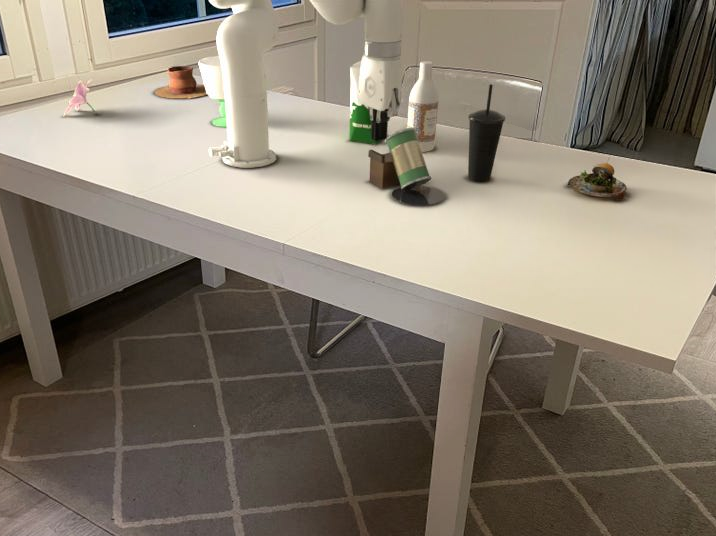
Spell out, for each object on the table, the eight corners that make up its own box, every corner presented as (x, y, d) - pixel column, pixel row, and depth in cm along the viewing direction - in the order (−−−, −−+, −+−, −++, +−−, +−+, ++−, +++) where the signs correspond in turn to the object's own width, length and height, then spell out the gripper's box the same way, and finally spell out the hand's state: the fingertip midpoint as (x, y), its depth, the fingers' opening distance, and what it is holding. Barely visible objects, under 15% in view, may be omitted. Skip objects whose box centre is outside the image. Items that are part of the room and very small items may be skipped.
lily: (99, 109, 209) (77, 80, 204) (117, 100, 200) (95, 69, 195) (70, 132, 203) (47, 102, 198) (87, 123, 194) (64, 91, 190)
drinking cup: (498, 175, 160) (512, 82, 148) (493, 186, 154) (507, 90, 142) (464, 171, 162) (475, 79, 150) (458, 182, 156) (469, 87, 144)
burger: (555, 186, 154) (562, 152, 149) (598, 179, 157) (606, 145, 153) (593, 206, 144) (601, 170, 140) (638, 197, 148) (647, 162, 144)
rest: (380, 189, 152) (381, 156, 148) (367, 182, 156) (368, 149, 152) (413, 181, 156) (416, 149, 152) (400, 175, 160) (402, 143, 156)
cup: (264, 120, 196) (261, 59, 187) (233, 132, 187) (228, 68, 178) (225, 112, 202) (220, 53, 193) (193, 124, 193) (187, 62, 184)
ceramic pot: (146, 97, 216) (142, 73, 212) (165, 83, 231) (163, 60, 227) (202, 100, 214) (200, 75, 210) (219, 86, 228) (217, 62, 224)
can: (410, 200, 146) (415, 139, 139) (377, 183, 155) (380, 124, 148) (435, 194, 149) (441, 134, 142) (402, 177, 157) (405, 119, 150)
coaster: (412, 210, 143) (412, 208, 143) (381, 193, 151) (381, 191, 151) (455, 199, 148) (455, 198, 147) (422, 183, 155) (422, 182, 155)
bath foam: (418, 154, 172) (424, 67, 160) (400, 147, 176) (405, 61, 165) (439, 149, 175) (447, 63, 163) (421, 142, 179) (428, 58, 168)
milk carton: (388, 135, 184) (393, 53, 173) (377, 146, 177) (381, 60, 166) (356, 132, 187) (359, 50, 175) (344, 142, 180) (346, 57, 168)
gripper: (347, 45, 149) (346, 133, 159) (388, 57, 138) (384, 151, 148) (376, 41, 152) (373, 128, 162) (419, 53, 141) (413, 145, 152)
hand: (378, 139), depth 155 cm, fingers closed
